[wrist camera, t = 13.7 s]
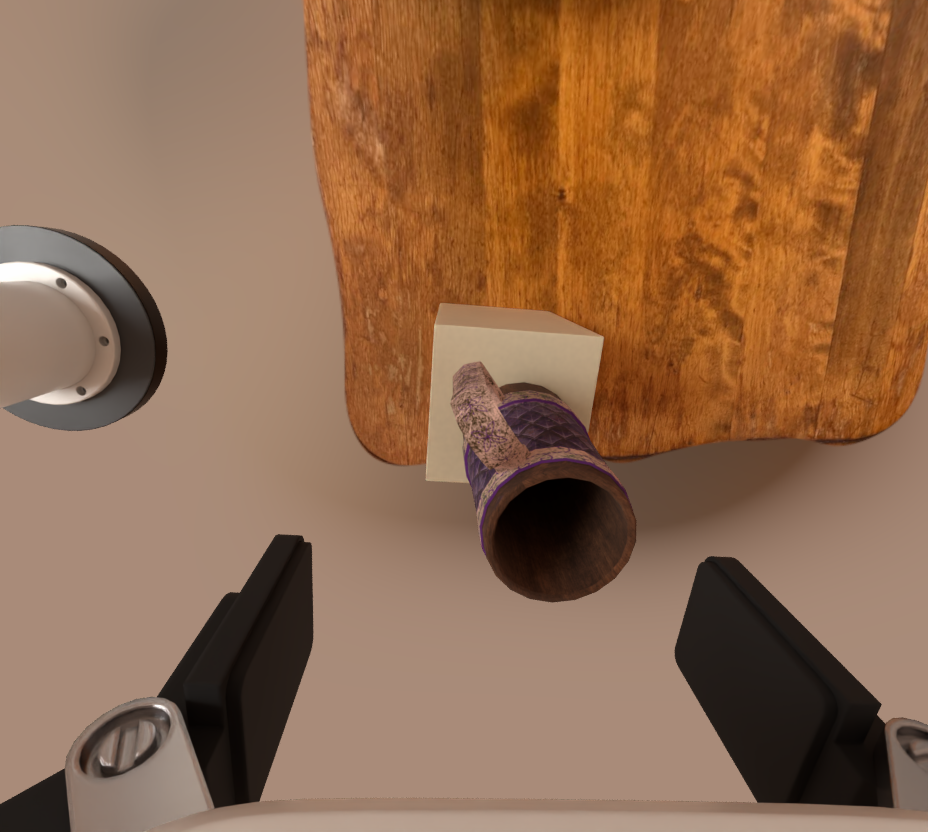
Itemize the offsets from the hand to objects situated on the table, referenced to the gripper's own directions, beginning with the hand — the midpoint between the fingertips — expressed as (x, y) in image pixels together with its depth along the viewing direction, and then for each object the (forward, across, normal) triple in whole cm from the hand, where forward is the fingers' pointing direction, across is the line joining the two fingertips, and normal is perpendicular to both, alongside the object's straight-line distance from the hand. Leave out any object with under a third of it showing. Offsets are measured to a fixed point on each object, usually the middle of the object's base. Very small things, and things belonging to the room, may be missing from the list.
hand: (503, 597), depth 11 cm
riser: (+34, -3, +1) cm, 34 cm away
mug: (+18, -2, +1) cm, 18 cm away
